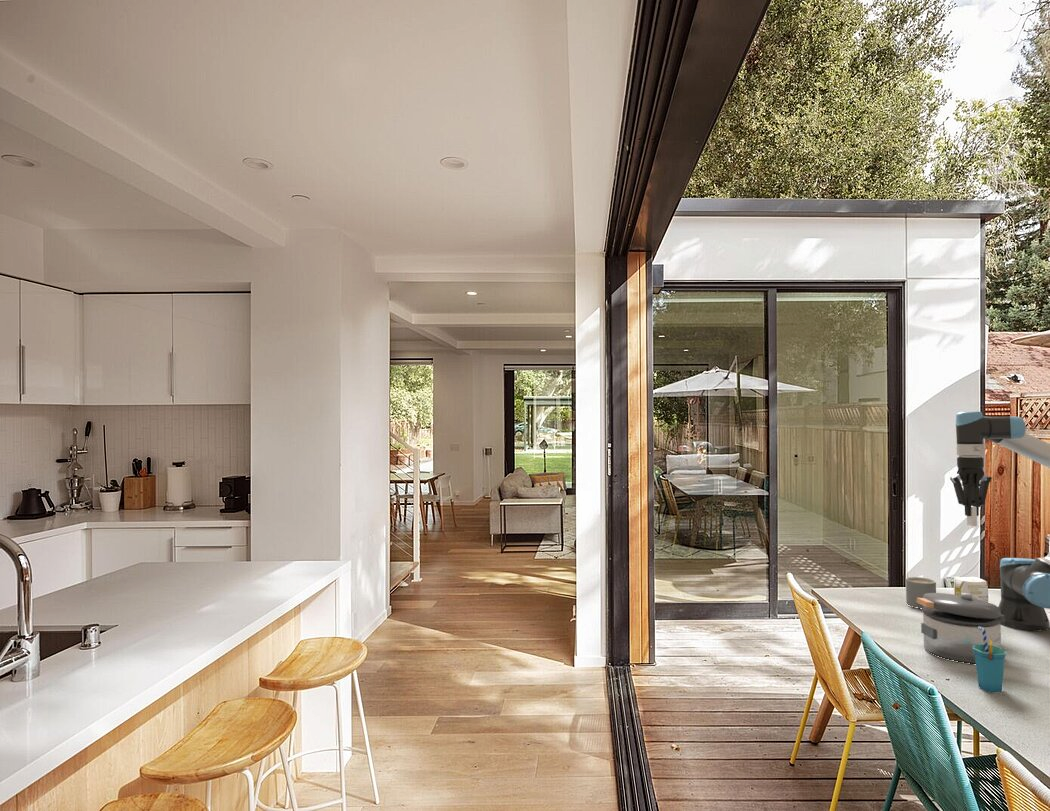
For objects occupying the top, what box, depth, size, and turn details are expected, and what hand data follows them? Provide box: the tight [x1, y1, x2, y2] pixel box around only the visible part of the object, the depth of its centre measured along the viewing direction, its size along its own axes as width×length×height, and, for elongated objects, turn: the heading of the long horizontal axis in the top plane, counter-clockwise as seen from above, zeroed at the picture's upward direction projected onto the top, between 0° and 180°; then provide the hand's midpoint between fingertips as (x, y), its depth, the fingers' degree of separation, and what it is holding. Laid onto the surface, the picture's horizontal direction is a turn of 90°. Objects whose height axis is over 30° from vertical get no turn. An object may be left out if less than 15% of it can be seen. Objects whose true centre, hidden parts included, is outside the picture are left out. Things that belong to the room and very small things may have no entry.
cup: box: [973, 626, 1007, 693], centre depth 176 cm, size 14×8×15 cm, turn 160°
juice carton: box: [953, 576, 989, 603], centre depth 217 cm, size 8×9×19 cm
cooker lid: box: [917, 592, 1001, 619], centre depth 201 cm, size 22×20×4 cm
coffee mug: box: [905, 576, 937, 608], centre depth 251 cm, size 13×10×10 cm
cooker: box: [920, 606, 1005, 665], centre depth 201 cm, size 22×21×12 cm
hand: (972, 525), depth 220 cm, fingers closed
